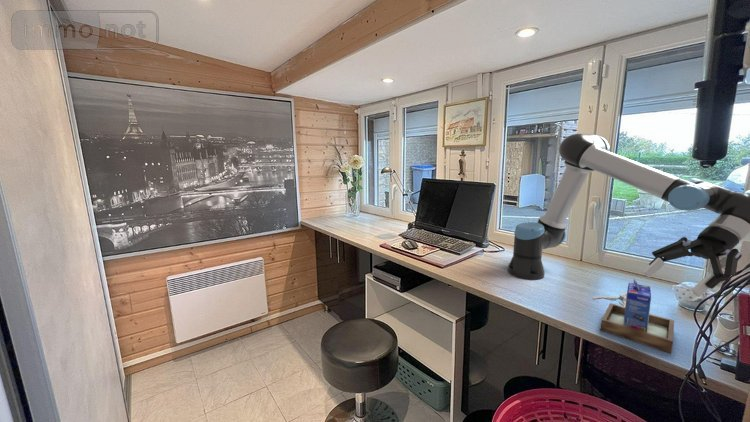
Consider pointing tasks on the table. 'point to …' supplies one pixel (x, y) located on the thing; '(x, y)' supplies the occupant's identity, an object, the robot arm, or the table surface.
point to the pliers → (622, 296)
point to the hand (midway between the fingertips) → (668, 283)
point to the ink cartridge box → (637, 306)
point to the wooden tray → (655, 336)
